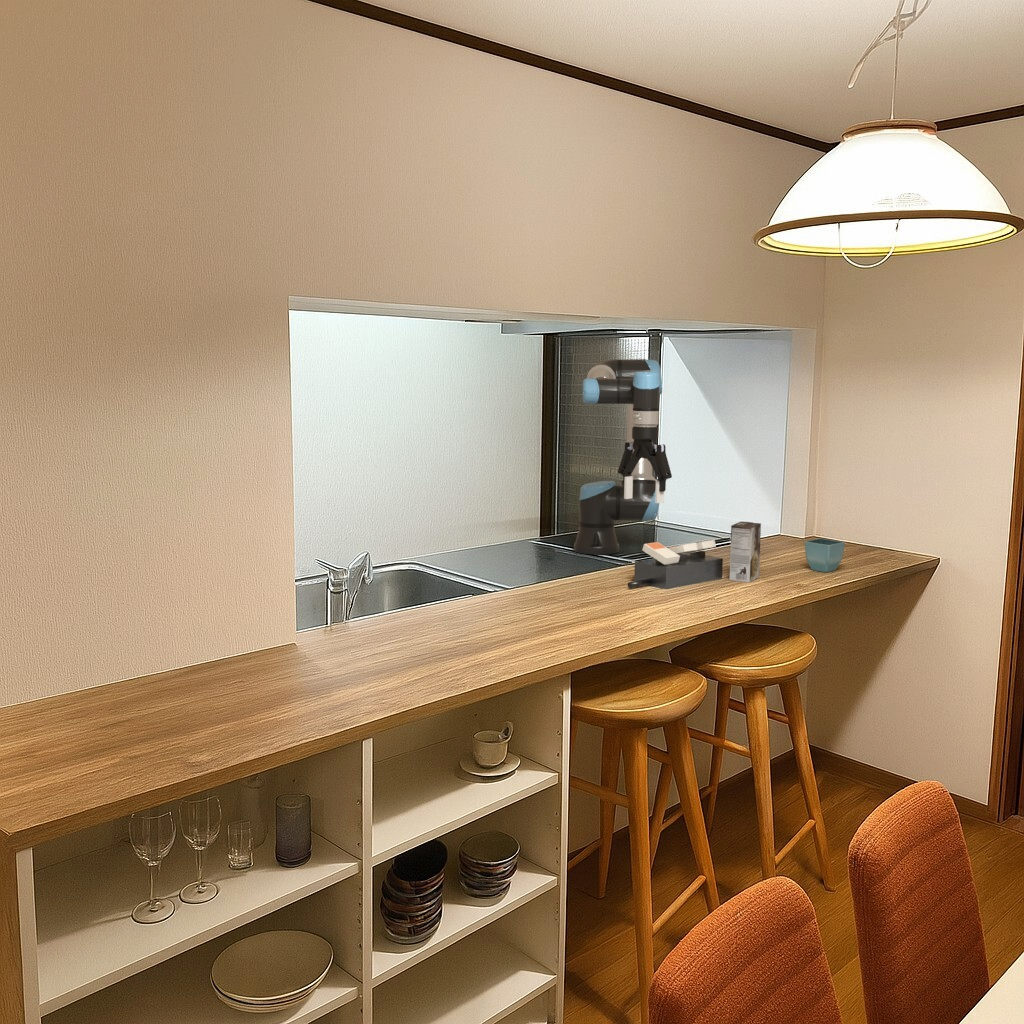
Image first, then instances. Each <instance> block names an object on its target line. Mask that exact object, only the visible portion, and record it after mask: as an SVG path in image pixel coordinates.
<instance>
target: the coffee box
mask: <svg viewBox="0 0 1024 1024" xmlns="http://www.w3.org/2000/svg"><path fill="white" fill-rule="evenodd" d="M761 526H762V523H759V522H751V521H738V522H736V523H735V524H731V525H730V529H731V530H730V551H729V553H730V554H729V555H730V556H729V575H728V576H729V579H728V580H729V581H734V582H741V583H751V582H753V581H754V580H756V579H757V578H759V577H760V563H761V561H760V558H761V555H760V554H761V534H762V532H761V531H762V530H761V529H762V527H761Z"/></svg>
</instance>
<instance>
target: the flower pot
mask: <svg viewBox="0 0 1024 1024" xmlns="http://www.w3.org/2000/svg"><path fill="white" fill-rule="evenodd" d="M845 545H846V541H840V540H835V539H834V540H833V539H828V538H816V539H810V540H804V551H805V557H806V562H807V563H808V566H809V567H810V569H811V570H812V571H817V572H822V573H829V572H833V571H836V570H837V568H838V567H839V565H840V563H841V562H842V559H843V556H844V551H845Z"/></svg>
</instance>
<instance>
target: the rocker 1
mask: <svg viewBox="0 0 1024 1024" xmlns="http://www.w3.org/2000/svg"><path fill="white" fill-rule="evenodd" d="M668 548H669V547H666V546H665V545H663V544H662V543H660V542H658V541H656V542H649V543H644V544H643V547H642V551H643V552H644V553H646V554H647V555H648V556H650V557H651V558H652V559H653V558H655V559H657V560H658V561H660V562H661V563H663V564H664V565H665V564H671V563H677V562H678V561H679V558H680V556H679V555H678V554H676V553H674V552H673V551H671V550H670V549H668Z"/></svg>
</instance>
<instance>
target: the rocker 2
mask: <svg viewBox="0 0 1024 1024" xmlns="http://www.w3.org/2000/svg"><path fill="white" fill-rule="evenodd" d="M696 543H697V542H692V543H691V542H690V543H686V544H680V545H676V546H669V547H667V548H668V549H670V550H671V551H673V552H674V553H676V554H681V553H683V554H684V553H685V552H689V551H694V550H698V549H697V544H696ZM689 553H690V552H689Z"/></svg>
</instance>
